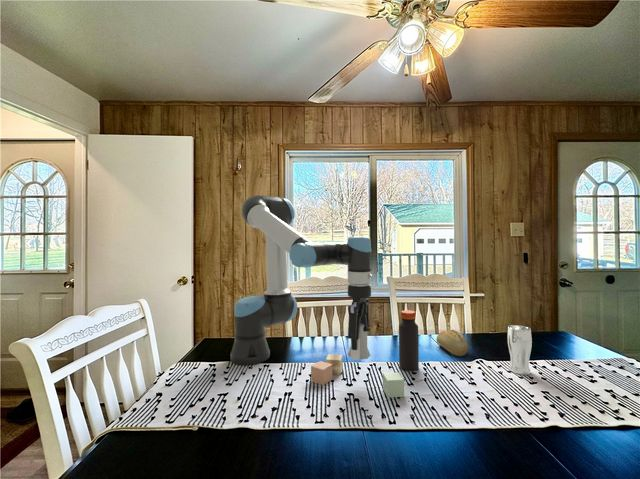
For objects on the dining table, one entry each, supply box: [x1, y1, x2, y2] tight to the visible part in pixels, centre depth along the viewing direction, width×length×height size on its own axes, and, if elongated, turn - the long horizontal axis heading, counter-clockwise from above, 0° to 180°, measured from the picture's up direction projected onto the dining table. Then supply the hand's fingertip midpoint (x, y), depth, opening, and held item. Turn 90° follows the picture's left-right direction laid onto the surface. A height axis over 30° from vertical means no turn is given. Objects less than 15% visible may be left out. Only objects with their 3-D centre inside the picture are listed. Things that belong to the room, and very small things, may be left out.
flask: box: [347, 324, 371, 360], centre depth 97 cm, size 7×7×10 cm
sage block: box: [382, 371, 405, 398], centre depth 90 cm, size 5×5×5 cm
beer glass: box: [507, 324, 533, 376], centre depth 104 cm, size 7×7×15 cm
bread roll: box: [436, 329, 469, 357], centre depth 123 cm, size 10×15×8 cm, turn 12°
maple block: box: [325, 353, 343, 376], centre depth 106 cm, size 5×5×5 cm
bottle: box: [398, 309, 420, 372], centre depth 108 cm, size 7×7×20 cm
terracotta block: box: [310, 360, 333, 386], centre depth 99 cm, size 5×5×5 cm
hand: (359, 354), depth 97 cm, fingers closed on flask, 7 cm apart
